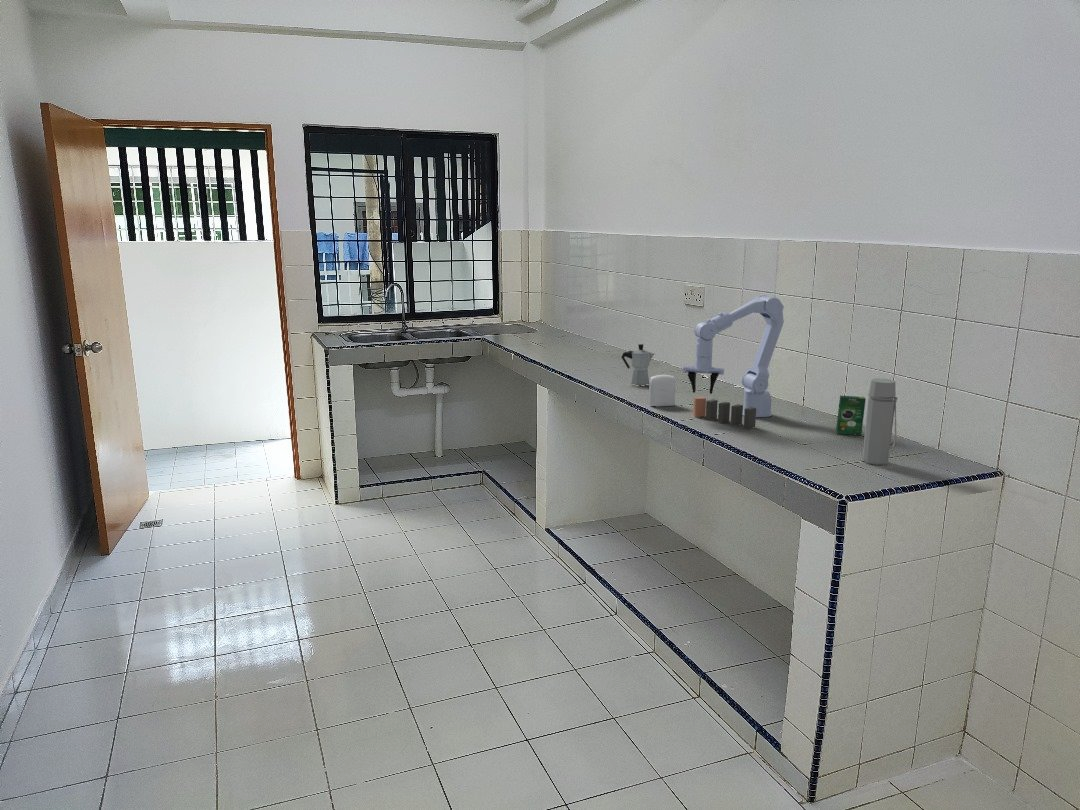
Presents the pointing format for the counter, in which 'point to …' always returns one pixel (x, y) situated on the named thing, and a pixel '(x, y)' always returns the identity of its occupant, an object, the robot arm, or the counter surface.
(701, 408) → the terracotta domino
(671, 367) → the counter surface
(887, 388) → the water bottle
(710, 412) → the domino
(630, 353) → the coffee maker
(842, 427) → the coffee box
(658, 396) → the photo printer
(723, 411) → the domino
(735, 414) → the domino
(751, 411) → the domino
